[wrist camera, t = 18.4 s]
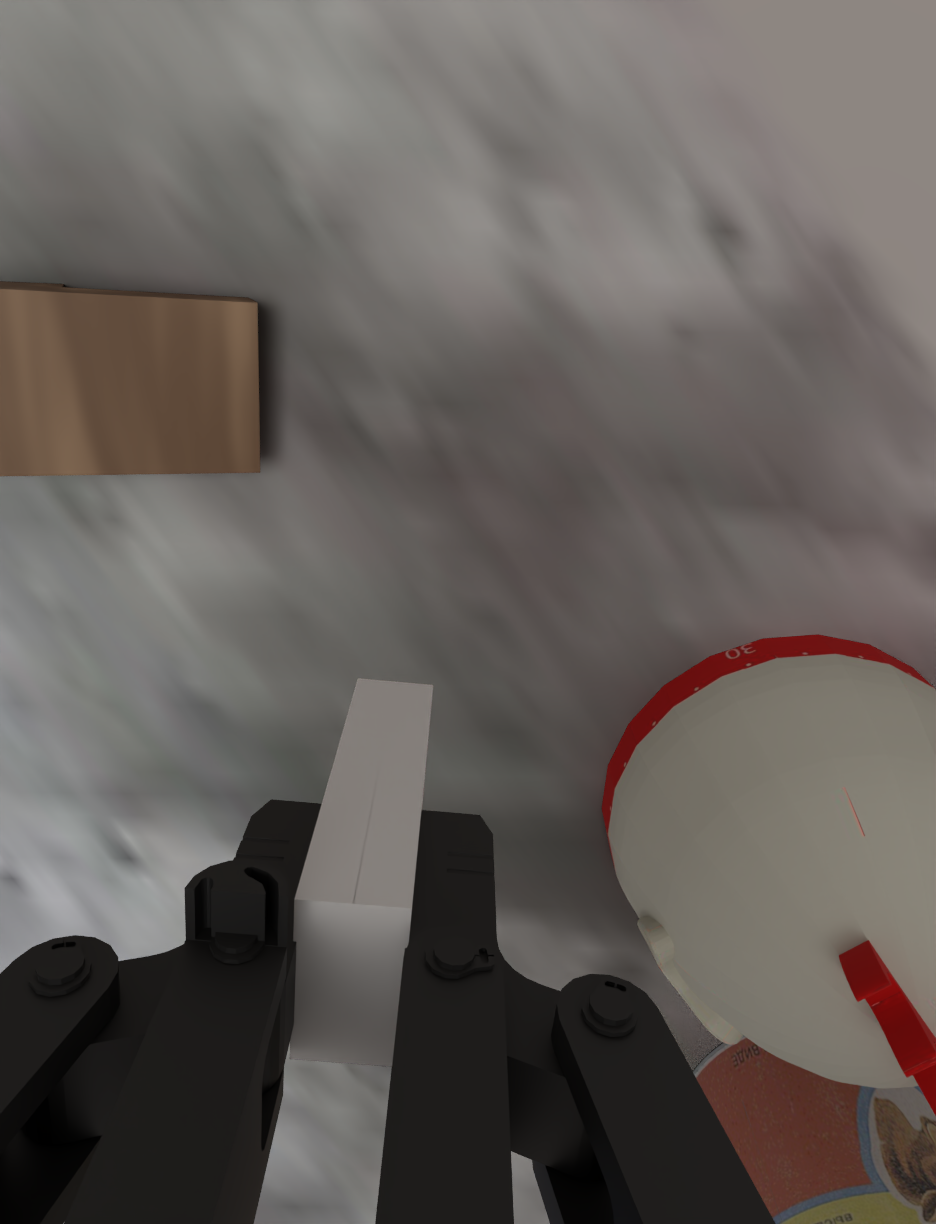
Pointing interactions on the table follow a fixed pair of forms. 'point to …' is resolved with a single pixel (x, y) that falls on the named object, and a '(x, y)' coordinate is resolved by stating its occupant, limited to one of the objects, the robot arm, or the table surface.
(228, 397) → the domino
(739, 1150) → the canned food
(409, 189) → the table surface
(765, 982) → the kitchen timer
